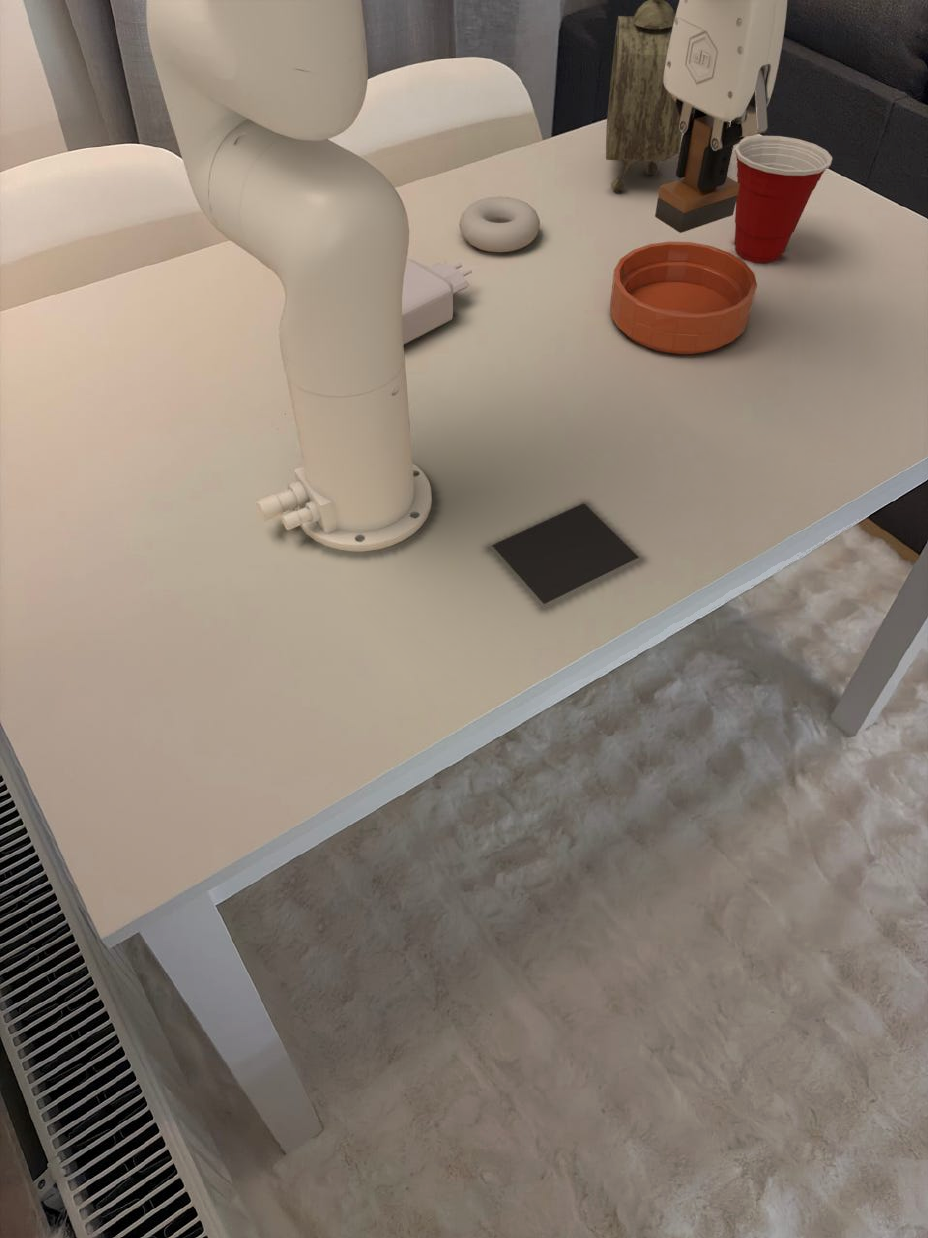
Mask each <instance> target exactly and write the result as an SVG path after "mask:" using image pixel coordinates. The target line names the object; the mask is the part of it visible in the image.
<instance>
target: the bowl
mask: <svg viewBox="0 0 928 1238" xmlns="http://www.w3.org/2000/svg"><path fill="white" fill-rule="evenodd" d="M612 274H613V276H612V284H611V292H610V299H609V300H610V301H609V311H610V312H609V314H610V317H611V319H612V320H613V322H614V323H615V325H616V327H617V328H618V329H619V330H620V331H622V333H624V335H626V336H627V337H628V339H629V338H630V339H631V340H632V341H634V342H635V343H637V344H639V345H641V346H643V347H646V348H648V349H651V350H654V351H657V352H663V353H669V354H676V355H677V354H678V355H694V354H703V353H707V352H711V351H714V350H717V349H719V348H722V347H724V346H726V345H728V344H730V343H733V342H734V341H735V340H736V339H737V338H738V337H740V336H741V335H742V334H743V333H744V332H745V330H746V327H747V325H748V323H749V319H750V316H751V311H752V308H753V303H754V300H755V297H756V296H755V295H756V292H757V288H758V284H757V279H756V275H755V273H754V271H753V270H752V269H751V268H750V266H749V265H748V264H747V263H746V262H745V261H743V260H742V259H740V258H739V257H737V256H736V255H734V254H733V253H731V252H729V251H727V250H723V249H721V248H718V247H715V246H713V245H708V244H704V243H703V244H702V243H698V242H690V241H663V242H656V243H648V244H646V245H644V246H641V247H638V248H635V249H632V250H631V251H629V252H628V253H627V254H625V255H624V256H622V257H621V258H620V259H619V260H618V262H617V264H616V266H615V267H614V269H613V273H612Z"/></svg>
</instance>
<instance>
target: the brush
mask: <svg viewBox="0 0 928 1238" xmlns="http://www.w3.org/2000/svg"><path fill="white" fill-rule="evenodd" d="M713 124H714V117H712V116H710V115H707V116H704V117H700V118H697V119H695V120H694V125H693V130H692V136H691V142H690V148H689V153H688V159H687V164H686V170H685V176H684V178H679V179H676V180H674V181H669V182H667V183H663V184H661V185H660V186H659V190H658V197H657V201H656V209H655V214H654V217H655V218H656V219H658V220H659V221H661V222H663V223H664V224H666V225H667V226H669V227H670V228H672V229H673V230H675V231H676V232H677V233H679V234H682V233H685V232H688V231H691V230H694V229H696V228H699V227H702V226H706V225H708V224H711V223H714V222H717V221H719V220H723V219H725V218H729V217H732V216H733V215H734V213H735V210H736V200H737V195H738V190H739V186H740V184H739V183H738V182H737V180H736V181H735V180H734V179H732V178H730V177H728V176H727V178H726V182H725V183H724V184H723V185H721V186H718V187H715V188H712V189H709V190H705V191H701V190H699V189H698V186H697V184H698V179H699V173H700V168H701V163H702V158H703V153H704V149H705V147H709V146H711V145H710V143H711V136H712V130H713ZM730 124H731V121H727V127H726V129H727V128H728V127H730Z"/></svg>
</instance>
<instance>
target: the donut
mask: <svg viewBox="0 0 928 1238" xmlns="http://www.w3.org/2000/svg"><path fill="white" fill-rule="evenodd" d="M539 217H540V216H539V215H538V213H537V211H536V209H535V208H533V207H532V205H530V204H529V203H528V202H526V201H523V200H522V199H518V198H514V197H510V196H491V197H490V196H489V197H486V198H481V199H478V200H476V201H474V202H472V203H470V204H469V205H468V206H467V207H466V208H465V209H464V210H463V212H462V213H461V216H460V219H459V229H460V232H461V235H462V237H463V239H465V241H466V242H467V243H468V244H469V245H471V246H472V247H474V248H476V249H478V250H482V251H486V252H490V253H508V252H514V251H517V250H521V249H523V248H524V247H527V246H529V245H530V244H531V243H532V242H533V241H534V240H535V238H537V236H538V235H539V230H540V226H541V222H540V218H539Z"/></svg>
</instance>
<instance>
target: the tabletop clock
mask: <svg viewBox="0 0 928 1238" xmlns="http://www.w3.org/2000/svg"><path fill="white" fill-rule="evenodd" d="M675 16H676V13H675V11H674V9H673V7H672V6H671V4H670V3H668V2H667V1H665V0H646V1H645V0H644V2H643V3H642V4H641V5H640V6H639V7H638V8H637V10H636V11H635V13H634V14H633V16H630V15H629V16H628V15H627V16H626V15H618V16H617V18H616V19H617V20H616V28H615V36H614V37H615V38H614V46H613V54H612V55H613V56H612V65H611V73H610V85H609V93H608V105H607V116H606V131H605V132H606V133H605V134H606V135H605V158H606V161H623V164H622V167H621V170H620V172H619V174H618V175H619V176H618V177H616V178H614V179H613V180H612V182H611V183H610V187H611V190H612V191H613V192H615V193H618V192H620V191H622V190H623V189H624V186H625V184H624V181H623V179H624V177H625V175H626V173H627V172H628V170H629V168H630V167H631V166H632V164H634V163H635V162H648V163H647V165H646V167H645V171H646V174H648V175H650V176H654V175H655V174H656V173H657V172H658V170H659V167H658V163H656V162H661V163H662V162H663V163H664V162H666V161H668V160H669V159H671V158H673V157H675V156H676V155H679V153H680V147H681V142H682V136H683V133H681V132H680V130H679V122H680V116H679V113H678V110H677V107H676V102H675V101H674V100H673V98H672V97H671V95H670V94H669V92H668V91H667V90H666V88H665V86H664V82H663V79H664V70H665V63H666V58H667V52H668V47H669V42H670V37H671V33H672V28H673V24H674V20H675Z"/></svg>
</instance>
